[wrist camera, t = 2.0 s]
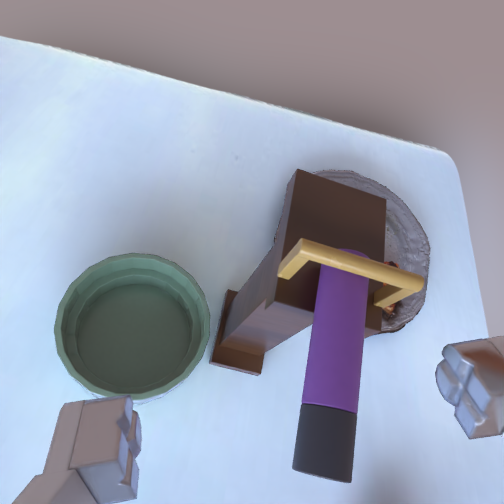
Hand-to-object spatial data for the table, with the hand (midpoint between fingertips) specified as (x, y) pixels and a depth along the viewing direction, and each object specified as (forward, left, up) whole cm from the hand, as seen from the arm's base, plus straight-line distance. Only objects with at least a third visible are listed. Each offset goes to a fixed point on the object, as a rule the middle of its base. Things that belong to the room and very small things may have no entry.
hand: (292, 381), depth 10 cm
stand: (-7, +10, -37) cm, 39 cm away
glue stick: (-1, +7, -11) cm, 13 cm away
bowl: (-10, -2, -37) cm, 38 cm away
